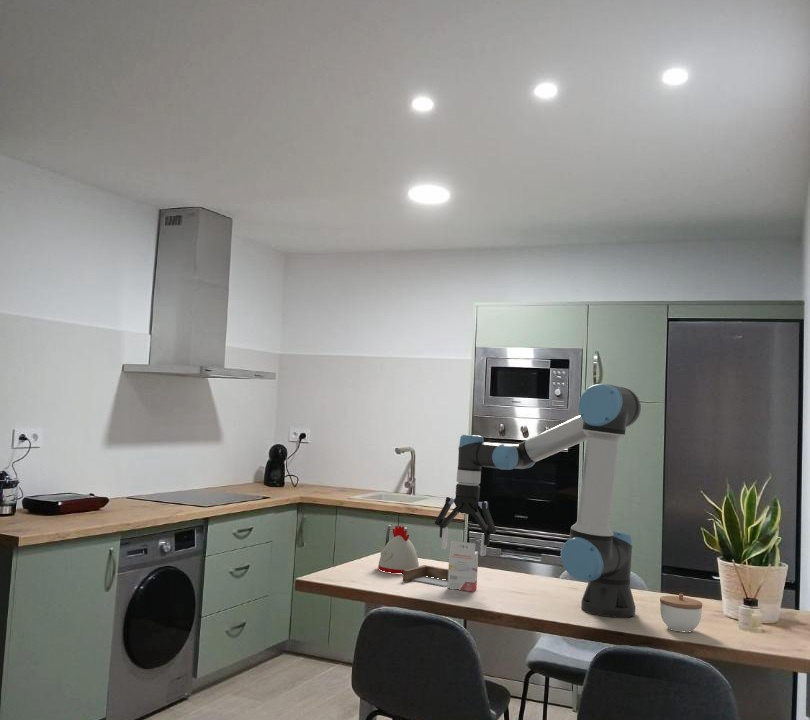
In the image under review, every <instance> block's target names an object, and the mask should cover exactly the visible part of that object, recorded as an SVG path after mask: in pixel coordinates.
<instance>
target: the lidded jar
mask: <svg viewBox="0 0 810 720" xmlns="http://www.w3.org/2000/svg"><path fill="white" fill-rule="evenodd" d="M659 606H660V607H659V610H660V616H661V618H662V621H663V623H664V624H665V625H666V626H667V629H668V628H669V629H668V630H670V629H672V630H675V631H674V632H676V631H685V632H689V631H692V632H693V630H695V629H696V628H697V627H698V626H699V624H700V622H701V618H702V614H703V613H702V611H703V609H702V608H703V603H702V602H701V601H699V600H697V599H696V598H695V599H694V598H690V597H685V596H684V594H683V593H679V594H678V596H677V595H663V596H660V597H659ZM672 630H671V631H672Z"/></svg>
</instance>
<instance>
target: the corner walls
mask: <svg viewBox="0 0 810 720" xmlns="http://www.w3.org/2000/svg"><path fill="white" fill-rule="evenodd" d="M423 576H428V577H434V578H439V579H446V580H448V568H444V567H439V566H433V565H426V564H423V565H419V567H415V568H411V569H407V570H403V575H402V582H403V583H410V582H413V581H412V579H416V578H420V577H423ZM409 581H410V582H409Z"/></svg>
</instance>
